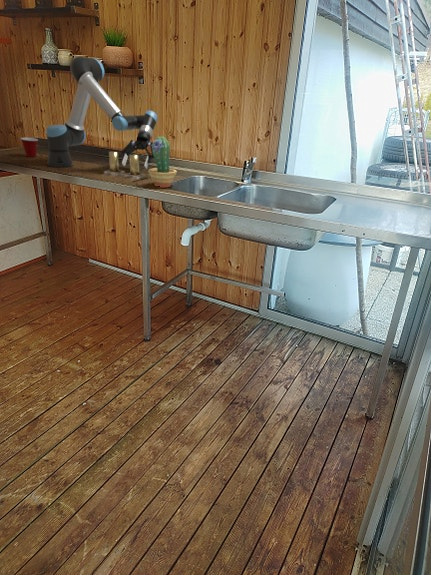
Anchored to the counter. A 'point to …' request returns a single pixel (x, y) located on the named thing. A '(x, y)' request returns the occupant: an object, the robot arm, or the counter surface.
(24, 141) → the plastic cup
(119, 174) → the pallet
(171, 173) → the potted cactus
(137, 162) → the brass billet
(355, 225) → the counter surface
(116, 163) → the cylinder
